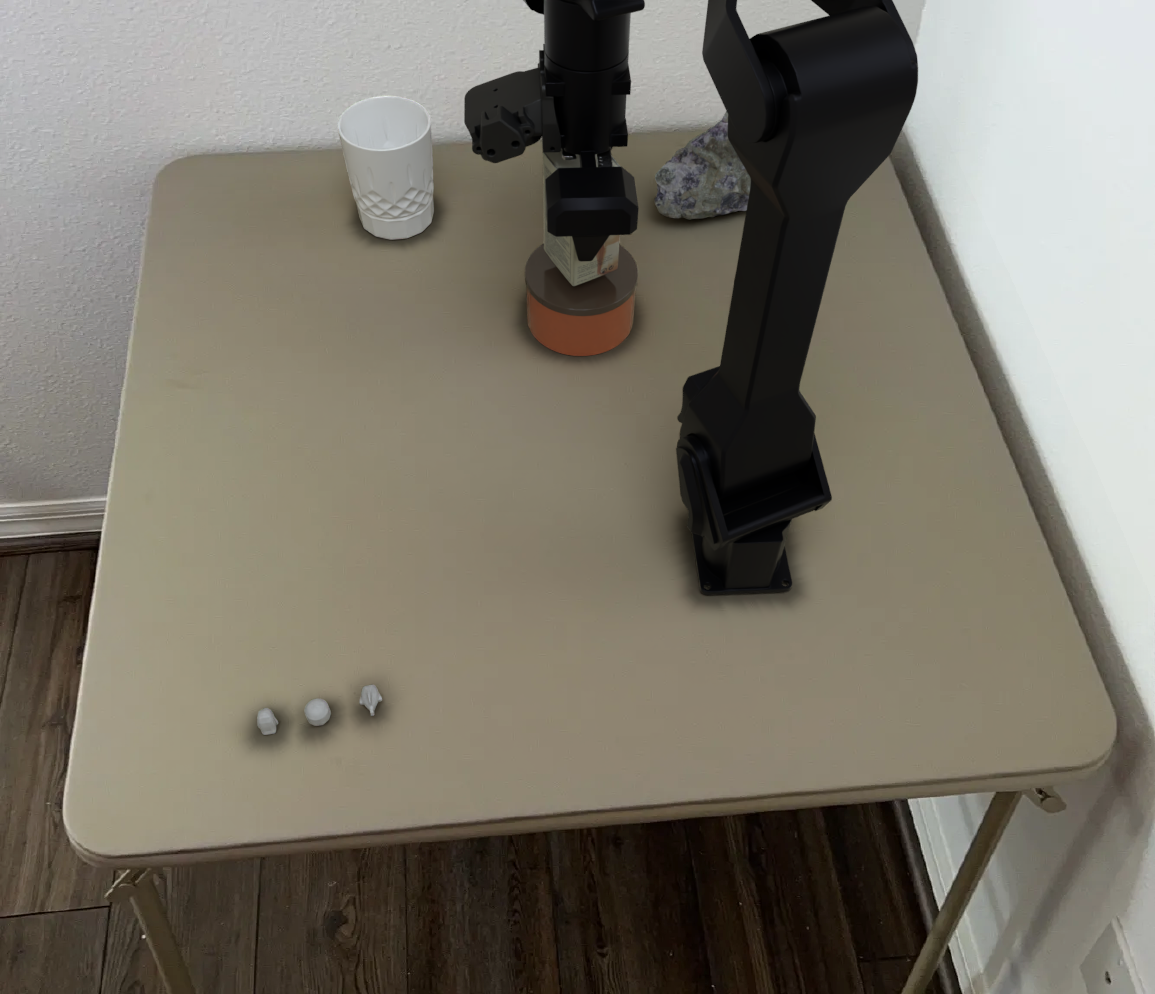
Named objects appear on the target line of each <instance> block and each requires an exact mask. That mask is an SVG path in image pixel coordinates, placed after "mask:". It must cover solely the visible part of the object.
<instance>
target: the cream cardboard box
mask: <svg viewBox="0 0 1155 994" xmlns="http://www.w3.org/2000/svg"><path fill="white" fill-rule="evenodd" d="M595 159H596V167H598V160H597V154H595ZM612 163H613V167H620V166H621V165H620V164H619V163H618V161H617V160H616V159H615V158H614V157H613V156H612ZM579 167H580V159H579V155H578V154H576V159H574V160H563V159H562V151H560V152H547V153H543V152H542V200H543V202H542V204H543V205H542V206H543V243H544V250H545V251H546V253H547V254H548V256H549V257H550V258H551V260H552V261H553V262H554V264H555V265H556V266H557V267H558V269H559V270H560V271H561V273H562V274H563V275H564V276H565V278H566V279H567V280H568V281H569V282H570V283H571V285H572V286H576V285H579V284H582V283H584V282H587V281H590V280H592V279H595V278H597V277H600V276H602V275H605V274H607V273H609V272H612V271H614V270H616V269H617V268H618V256H619V245H620V237H621V235H610V236H609V237H608V239H607V240H606V242H605V243H604V245H603V246H602V248H601V249H600V250H599V252H598V253H597V255H596V256H595V258H594V259H593V260H592V261H582V262H581V261H579V260H578V257H577V254H576V250H575V246H574V243H573V239H572V236H568V237H555V236H554V235H552V234H550V233H549V232H547V217H546V195H545V179H546V178H547V177H549V176H550V175H551V174H552V173H553V172H554V171H555V170H557V169H558V168H579Z"/></svg>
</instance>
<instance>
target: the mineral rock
mask: <svg viewBox="0 0 1155 994" xmlns="http://www.w3.org/2000/svg"><path fill="white" fill-rule="evenodd" d="M727 131H728V113H727V111H726V110H725V112H724V115H723V116H722V118H721V120H719V121H718V122H717V123H716V124H715V125H714V126H712V127H709V128H708V129H707V130H706V131H704V132H702V133H700V134H698V135H696V136H694V137H693V138H691V139H690V140H689V141H688V142H687V143H686V144H685V146H684V147H681V148H679V149H677V150H675V153H674V154H673V155H672V156H671V158H670V159H669V160H667V161H666V162H665V163H664V165H662V167H660V168H659V170H657V172H656V173H655V176H654V180H655V182H656V190H657V193H656V196H655V197H654V206H655V207H656V208H657V211H658V213H659V214H660V215H662V216H664V217H666V218H670V219H671V218H672V219H681V218H684V219H686V220H699V219H706V218H715V217H716V216H724V215H728V214H731V213H735V212H738V211H739V212H746V210H747V204H748V199H749V193H750V184H751V179H750V176H749V174H748V173H747V171H746V169H745V167H744V166H743V164H742V162H741V160H740V159H739V157H738V155H737V153H736V152H735V150H734V148H733V146H732V145H731V143H730V141H729V139H728V134H727Z"/></svg>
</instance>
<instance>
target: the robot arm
mask: <svg viewBox="0 0 1155 994" xmlns="http://www.w3.org/2000/svg"><path fill="white" fill-rule="evenodd" d="M522 1H523V2H524V4H525V5H526V6H527V7H528V9H529V10H531V11H533V12H535V13H537V14H540V15H543V35H544V37H543V38H544V39H543V44H542V49H539V50H538V63H537V67H535V68H531V69H528V70H524V71H521V70H520V71H519V70H518V71H513V72H511V73H508V74H505V75H502V76H500V77H497V78H494V79H491V80H489V81H486V82H483V83H480V84H478V85H474V86H473V87H471V88H470V89H469V90H468V91H466V93H465V95H464V101H463V102H464V104H463V105H464V107H463V108H464V111H463V113H464V115H463V118H464V119H463V120H464V121H463V122H464V125H465V127H466V129H467V131H468V133H469V135H470V137H471V150H472V153H473V154H475V155H479V156H480V157H481V159H482V160H483V161H486V162H489V163H492V164H498V163H502V162H504V161H508V160H511V159H513V158H516V157H519V156H522V155H524V153H525V152H526V149H527V147H530V146H532V145H535V144H536V143H538V142H539V141H541V147H542V149H541V150H542V154H543V153H547V152H560V151H562V159H563V160H574V159H576V154H578V155H579V159H580V167H579V168H558V169H557V170H555V171H554V172H553V173H552V174H551V175H550V176H549V177H547V178H546V179H545V195H546V217H547V232H549V233H550V234H552V235H554V236H555V237H568V236H572V239H573V243H574V246H575V250H576V254H577V257H578V260H579V261H581V262H582V261H592V260H593V259H594V258H595V256H596V255H597V253H598V252H599V250H600V249H601V248H602V246H603V245H604V243H605V242H606V240H607V239H608V237H609V236H610V235H620V236H630V235H632V234H633V233H635V232H636V231H637V230H638V224H639V223H638V222H639V202H638V201H639V200H638V194H637V193H638V192H637V187H636V180H635V176H634V175H632V174H631V173H630V172H629V171H628V170H626V168H625V167H623V166H621V165H620V167H613V163H612V157H613V155H612V149H613V148H622V147H628V142H629V131H628V124H627V117H626V113H627V112H626V111H627V96H631V92H632V91H631V90H632V79H631V78H632V77H631V72H630V63H629V55H630V35H631V16H632V13H637V12H640V11H643V10H644V9H645V8H646V2H645V0H522ZM810 1H811V2H812V3H814V4H815V5H816V6H817V7H818V8H820V9H821V10H822V11H823V12H824V13H826V14H827V16H823V17H818V18H814V19H811V20H807V21H803V22H799V23H795V24H791V25H787V26H783V27H779V28H775V29H772V30H771V29H770V30H766V31H763V32H760V33H756V34H755V35H753V36H752V37H749V35H748V32H747V30H746V28H745V25H744V24H743V21H742V19H741V17H740V15H739V13H738V10H737V6H738V0H707V6H706V15H705V16H706V17H705V25H704V33H703V40H702V41H703V43H702V50H701V54H702V55H701V56H702V61H703V63H704V65H705V67H706V69H707V71H708V73H709V76H710V78H711V80H712V82H713V85H714V87H715V89H716V91H717V94H718V96H719V98H720V100H721V102H722V105H723V108H724V109H725V112H726V111H727V113H728V131H727V134H728V139H729V141H730V143H731V145H732V146H733V148H734V150H735V152H736V153H737V155H738V157H739V159H740V160H741V162H742V164H743V166H744V167H745V169H746V171H747V173H748V174H749V176H750V179H751V184H750V193H749V199H748V204H747V210H746V211H745V217H744V223H743V228H742V234H741V239H740V245H739V251H738V257H737V264H736V270H735V275H734V281H733V286H732V293H731V299H730V304H729V311H728V316H727V321H726V328H725V333H724V340H723V344H722V345H723V346H722V351H721V358H720V363H719V365H718V366H715V367H712V368H709V369H707V370H703V371H700V372H698V373H695V374H692V375H689V376H687V378H686V380H685V382H684V384H683V386H682V400H681V401H682V402H681V409H680V412H679V414H678V415H677V417H676V419H677V421H678V422H679V423H680V424H681V426H680V430H679V439H678V441H677V444H676V447H675V452H676V453H675V454H676V463H677V473H678V474H677V475H678V482H679V483H678V485H679V494H680V498H681V501H682V503H683V506H684V507H685V508H686V510H687V520H686V521H687V522H686V527H687V529H688V530H689V532H690V533H691V539H692V546H693V552H694V560H695V566H696V573H697V579H698V581H697V582H698V587H699V591H700V593H701V594H702V595H705V596H718V595H721V596H723V595H724V596H725V595H740V594H741V595H744V594H745V595H746V594H747V595H748V594H765V593H766V594H769V593H772V594H773V593H787V592H789V591H791V589H792V588H793V587H792V586H793V581H792V580H793V579H792V575H791V571H790V565H789V560H788V556H787V550H786V546H785V545H786V542H787V539H788V535H789V532H790V527H791V524H792V520H793V519H796V518H799V517H800V516H803V515H806V514H808V513H811V512H813V511H814V512H818V511H819V510H822V509H824V508H825V507H827V505H829V504H830V503H831V502H832V500H833V497H832V493H831V489H830V488H831V487H830V485H829V482H828V477H827V474H826V469H825V467H824V463H823V459H822V454H821V452H820V448H819V444H818V440H817V437H816V433H815V429H816V423H817V422H816V421H817V416H816V415H817V414H816V413H815V412H814V410H813V409H812V407H811V406H810V405H809V403H808V402H807V400H806V398H805V396H803V394H802V392H801V390H800V386H801V381H802V377H803V373H804V369H805V366H806V363H807V358H808V353H809V350H810V346H811V342H812V338H813V334H814V331H815V327H816V323H817V319H818V316H819V312H820V307H821V303H822V301H823V295H824V291H825V288H826V284H827V280H828V277H829V272H830V269H831V266H832V265H831V264H832V261H833V257H834V253H835V249H836V246H837V245H836V244H837V241H838V238H839V234H840V229H841V226H842V222H843V218H844V214H845V210H846V206H847V204H848V202H849V200H850V199H851V197H853V195H854V194H855V193H856V192H857V191H858V190H859V189H860V188H861V187H862V186H863V185H864V184H865V182H866V181H867V180H868V179H869V178H870V177H871V176H872V175H873V174H874V173H875V172H876V170H878V168H879V167H880V166H881V165H882V164H883V163H884V162H885V161H886V160H887V159H888V158H889V156H890V155H891V154H892V152H893V150H894V148H895V145H896V143H897V141H898V139H899V136H900V134H901V132H902V130H903V127H904V125H905V123H906V121H907V119H908V117H909V115H910V113H911V110H912V108H913V106H914V103H915V100H916V96H917V91H918V84H919V61H918V54H917V51H916V48H915V45H914V42H913V40H912V38H911V36H910V33H909V31H908V29H907V28H906V25H905V23H904V21H903V19H902V17H901V15H900V12H899V11H898V8H897V6H896V4H895V3H894V1H893V0H810ZM595 154H597V160H598V167H596V159H595ZM784 584H786V585H784ZM706 587H708V588H706Z"/></svg>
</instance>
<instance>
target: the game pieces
mask: <svg viewBox="0 0 1155 994" xmlns="http://www.w3.org/2000/svg"><path fill="white" fill-rule="evenodd" d="M382 701H383V697H382V696H381V694H380V692H379V689H378V687H377V686H376V684H368V685H364V686H362V689H361V693H360V697H359V700H358V703H359V705H360V706H365V708H366V709H367V710H368V711H369V714H370V716H371V717H374V716H375V714H376V713H375V710H376V708H377V705H378V703H380V702H382ZM331 715H332V711H331V709H330V706H329V704H328V702H327V701H326V700H325V699H324V698H318V697H316V698H313V699H311V700H309V701H308V702H307V703H306V704H305V706H304V716H305V717H306V720H307V722H308V723H309V724H310V725H312V726H314V727H318V726H324V725H325V724H326V723H328V721H329V720H330V719H331ZM277 725H279V721H278V719H277V718H276V717H275V714H274V712H273V710H272V709H271V708H268V707H262V709H259V711H258V712H257V718H256V726H257V728H259V729H260V732H261V733H262V735H264V736H267V735H268V736H269V735H273V734H275V733H277Z"/></svg>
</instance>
